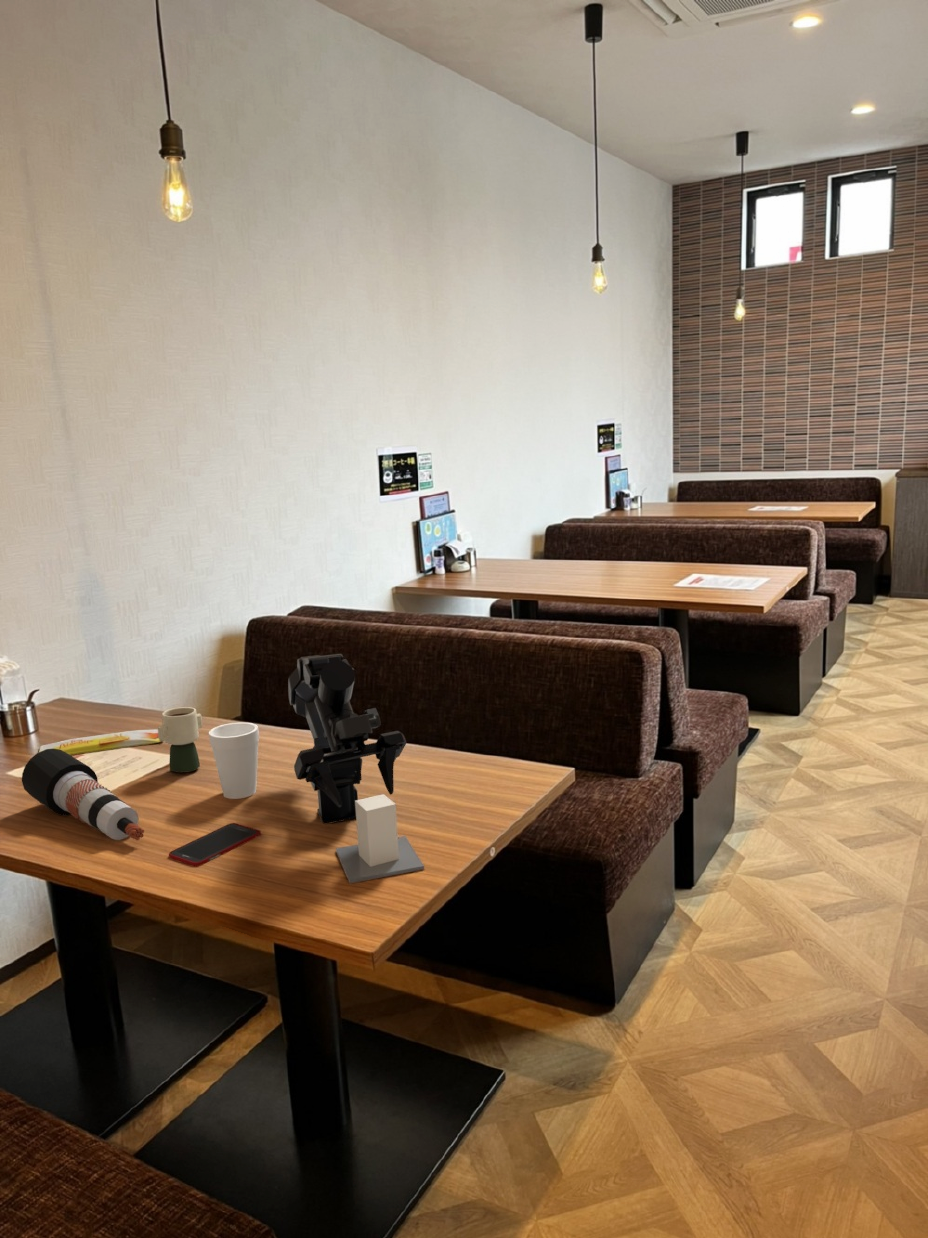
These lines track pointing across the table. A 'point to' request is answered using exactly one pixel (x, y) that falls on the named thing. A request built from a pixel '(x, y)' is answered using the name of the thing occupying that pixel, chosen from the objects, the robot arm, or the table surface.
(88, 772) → the cable
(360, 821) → the cream block
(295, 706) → the robot arm
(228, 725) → the foam cup
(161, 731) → the character mug
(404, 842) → the slate coaster
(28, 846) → the table surface
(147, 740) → the food package
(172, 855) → the cell phone
